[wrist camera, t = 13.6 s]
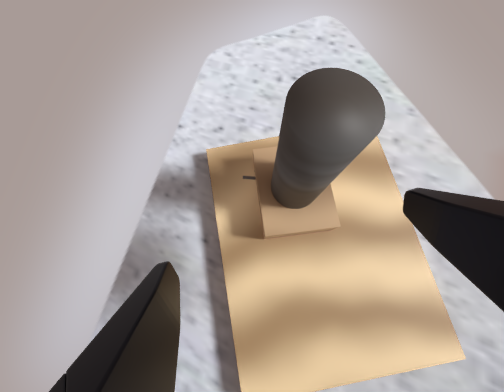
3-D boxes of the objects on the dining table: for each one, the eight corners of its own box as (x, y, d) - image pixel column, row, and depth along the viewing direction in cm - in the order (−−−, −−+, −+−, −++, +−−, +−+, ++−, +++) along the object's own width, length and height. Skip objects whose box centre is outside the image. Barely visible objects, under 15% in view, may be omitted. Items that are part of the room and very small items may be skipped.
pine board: (448, 350, 17) (466, 358, 15) (244, 393, 16) (243, 406, 15) (363, 128, 22) (370, 119, 21) (209, 156, 22) (206, 149, 20)
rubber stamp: (329, 230, 18) (443, 187, 7) (264, 239, 18) (274, 209, 7) (312, 155, 20) (381, 27, 9) (253, 162, 20) (248, 43, 9)
